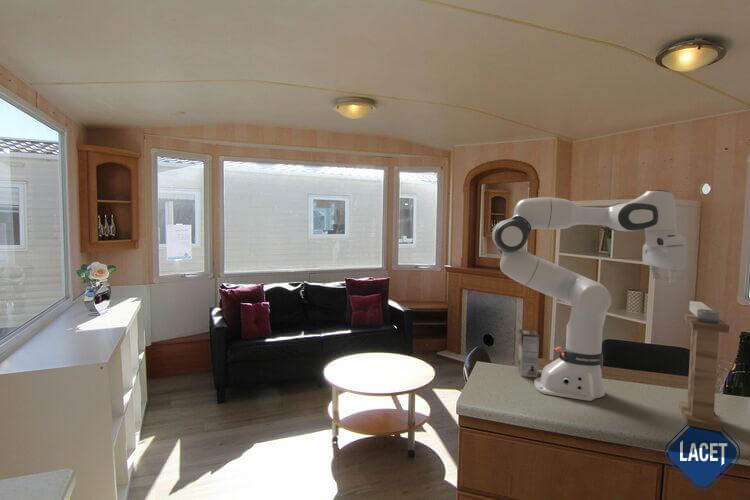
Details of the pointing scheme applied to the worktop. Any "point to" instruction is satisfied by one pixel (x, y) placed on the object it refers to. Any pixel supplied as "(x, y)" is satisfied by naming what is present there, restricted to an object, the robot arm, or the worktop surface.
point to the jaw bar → (704, 312)
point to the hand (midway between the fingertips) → (663, 280)
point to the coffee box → (528, 353)
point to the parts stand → (702, 374)
